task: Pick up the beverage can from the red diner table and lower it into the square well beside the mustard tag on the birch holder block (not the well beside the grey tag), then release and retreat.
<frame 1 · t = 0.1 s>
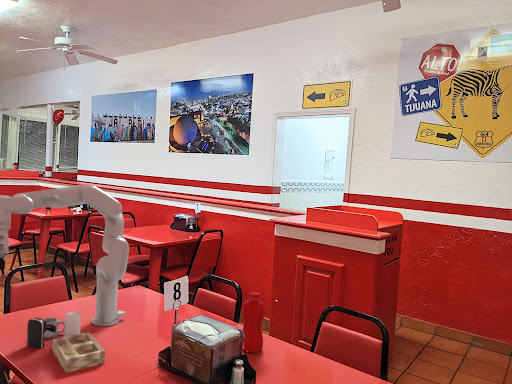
holder block: (77, 357, 160), on the table
battery charger: (36, 346, 166), on the table
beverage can: (71, 341, 173), on the table
water bottle: (249, 348, 179), on the table
mug: (53, 335, 178), on the table
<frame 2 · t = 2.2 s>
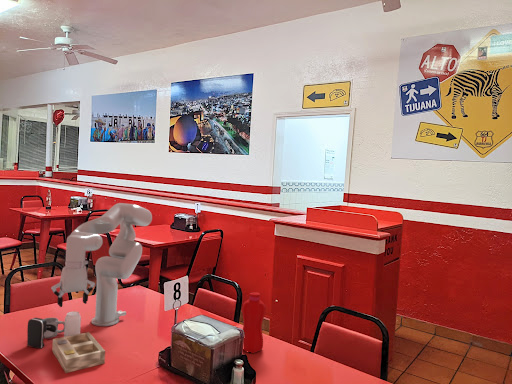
hand: (72, 304, 172), 16 cm above the table, fingers open, 9 cm apart
nothing on the table moved.
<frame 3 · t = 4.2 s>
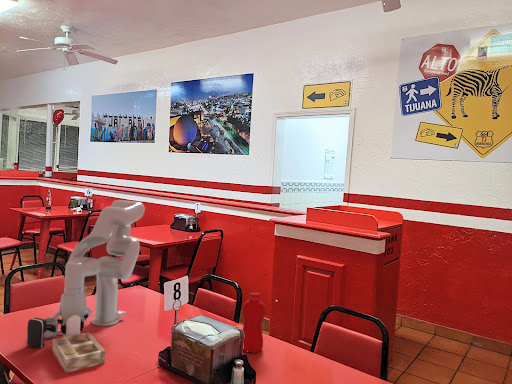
hand: (72, 331, 173), 4 cm above the table, fingers closed on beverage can, 6 cm apart
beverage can: (71, 341, 173), on the table, touching gripper
everything else where it was.
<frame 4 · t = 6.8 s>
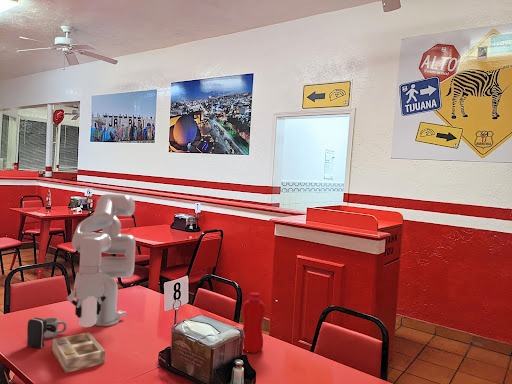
hand: (87, 314, 156), 18 cm above the table, fingers closed on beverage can, 6 cm apart
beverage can: (87, 325, 156), point 14 cm above the table, touching gripper
everything else where it was.
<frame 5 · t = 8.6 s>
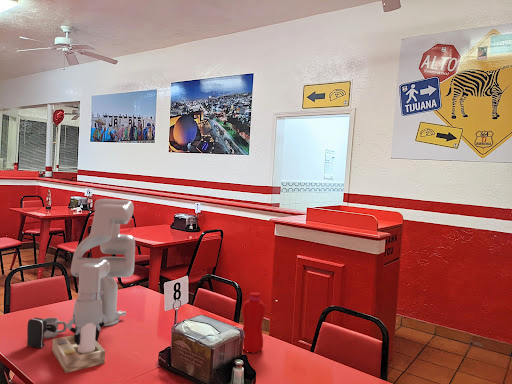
hand: (86, 341, 156), 8 cm above the table, fingers closed on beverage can, 6 cm apart
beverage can: (86, 352, 156), point 4 cm above the table, touching gripper
everything else where it was.
when the fingers open (7 cm above the table, at t = 9.8 s): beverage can drops 2 cm, resting on holder block.
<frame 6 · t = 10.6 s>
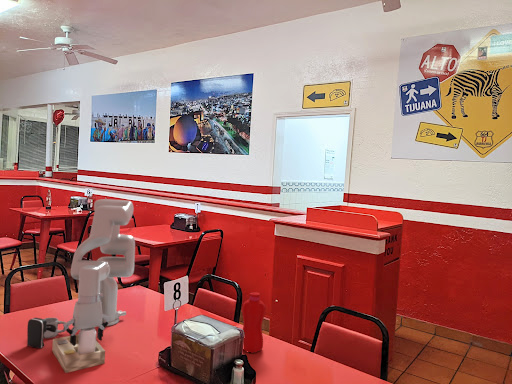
hand: (86, 341, 156), 8 cm above the table, fingers open, 9 cm apart
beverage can: (86, 359, 157), point 1 cm above the table, touching holder block
everything else where it was.
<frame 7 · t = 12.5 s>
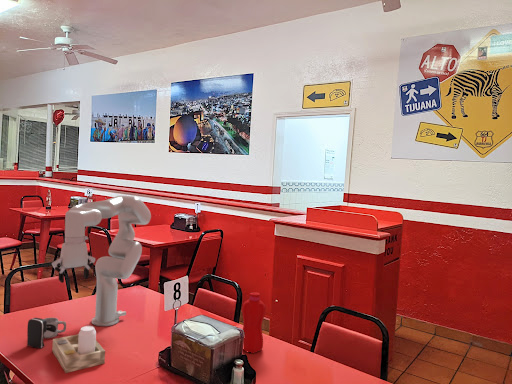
hand: (73, 280, 171), 27 cm above the table, fingers open, 9 cm apart
nothing on the table moved.
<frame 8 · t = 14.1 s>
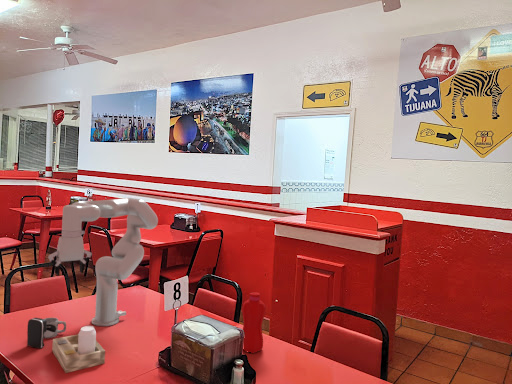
hand: (69, 273, 174), 28 cm above the table, fingers open, 9 cm apart
nothing on the table moved.
at the end: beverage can 0.4 cm from the target spot on the holder block, point 0.8 cm above the holder block's base; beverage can tilted 0°; the gripper is holding nothing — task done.
